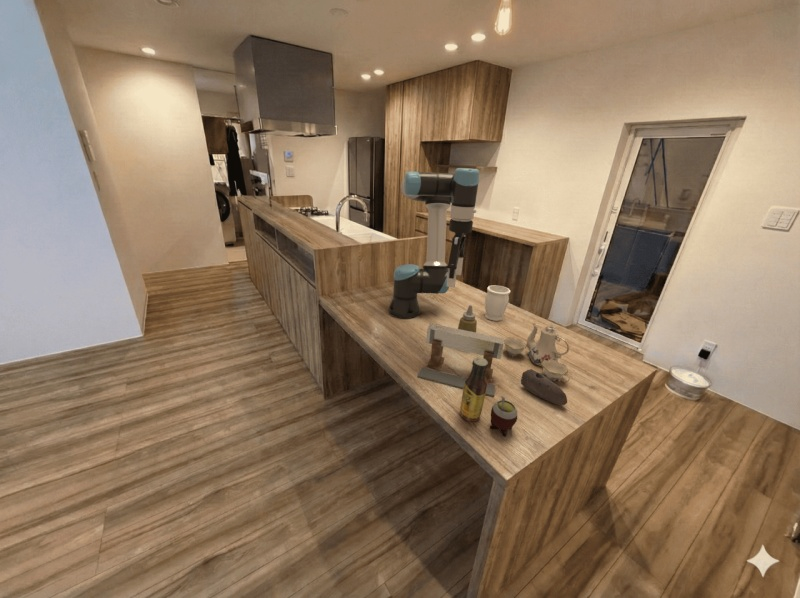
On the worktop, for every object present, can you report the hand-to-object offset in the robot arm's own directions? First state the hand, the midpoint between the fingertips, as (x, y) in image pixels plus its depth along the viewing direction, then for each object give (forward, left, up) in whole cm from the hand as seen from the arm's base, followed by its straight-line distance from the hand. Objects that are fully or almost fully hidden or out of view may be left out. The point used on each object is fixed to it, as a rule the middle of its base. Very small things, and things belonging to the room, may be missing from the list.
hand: (454, 280), depth 113 cm
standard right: (+16, -7, -31) cm, 35 cm away
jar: (+15, +42, -31) cm, 54 cm away
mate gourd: (+23, -31, -31) cm, 50 cm away
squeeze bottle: (+6, +10, -31) cm, 33 cm away
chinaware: (+34, +8, -31) cm, 47 cm away
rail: (+7, -7, -22) cm, 24 cm away
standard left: (-2, -7, -31) cm, 32 cm away
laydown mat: (+7, -15, -31) cm, 35 cm away
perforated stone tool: (+35, -11, -31) cm, 48 cm away
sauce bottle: (+14, -29, -31) cm, 45 cm away
